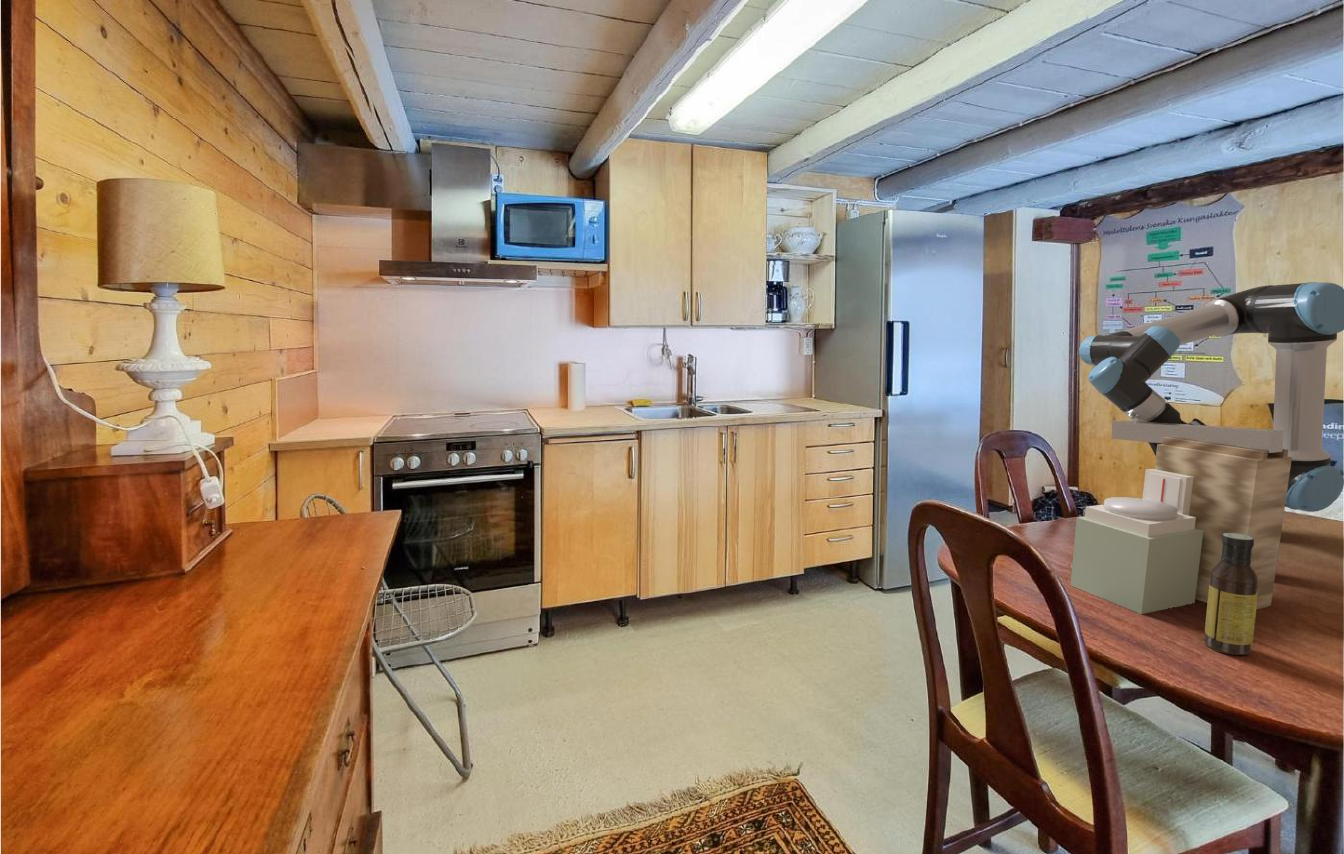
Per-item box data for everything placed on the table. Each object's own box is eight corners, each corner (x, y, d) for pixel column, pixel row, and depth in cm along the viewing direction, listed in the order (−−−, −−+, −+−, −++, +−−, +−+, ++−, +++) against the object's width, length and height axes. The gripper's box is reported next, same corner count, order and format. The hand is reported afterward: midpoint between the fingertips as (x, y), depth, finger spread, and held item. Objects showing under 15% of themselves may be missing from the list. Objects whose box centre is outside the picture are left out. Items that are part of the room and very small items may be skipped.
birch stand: (1142, 579, 140) (1158, 437, 136) (1174, 574, 144) (1190, 434, 139) (1237, 613, 123) (1258, 452, 119) (1270, 606, 127) (1293, 449, 122)
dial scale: (1084, 518, 135) (1089, 471, 133) (1135, 511, 140) (1140, 466, 138) (1147, 536, 123) (1153, 485, 121) (1201, 528, 127) (1207, 479, 126)
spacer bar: (1111, 438, 148) (1112, 421, 148) (1123, 437, 149) (1124, 420, 149) (1269, 453, 120) (1270, 431, 120) (1282, 451, 121) (1283, 430, 121)
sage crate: (1070, 585, 138) (1076, 517, 135) (1120, 576, 142) (1127, 510, 140) (1141, 614, 123) (1149, 539, 121) (1194, 603, 128) (1203, 530, 126)
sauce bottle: (1260, 654, 108) (1276, 540, 105) (1231, 659, 107) (1247, 543, 104) (1220, 637, 114) (1234, 529, 111) (1192, 641, 113) (1206, 531, 110)
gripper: (1103, 434, 159) (1171, 494, 156) (1188, 413, 134) (1270, 484, 132) (1121, 413, 160) (1188, 472, 158) (1208, 388, 135) (1289, 458, 133)
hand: (1226, 478), depth 145 cm, fingers open, 13 cm apart
